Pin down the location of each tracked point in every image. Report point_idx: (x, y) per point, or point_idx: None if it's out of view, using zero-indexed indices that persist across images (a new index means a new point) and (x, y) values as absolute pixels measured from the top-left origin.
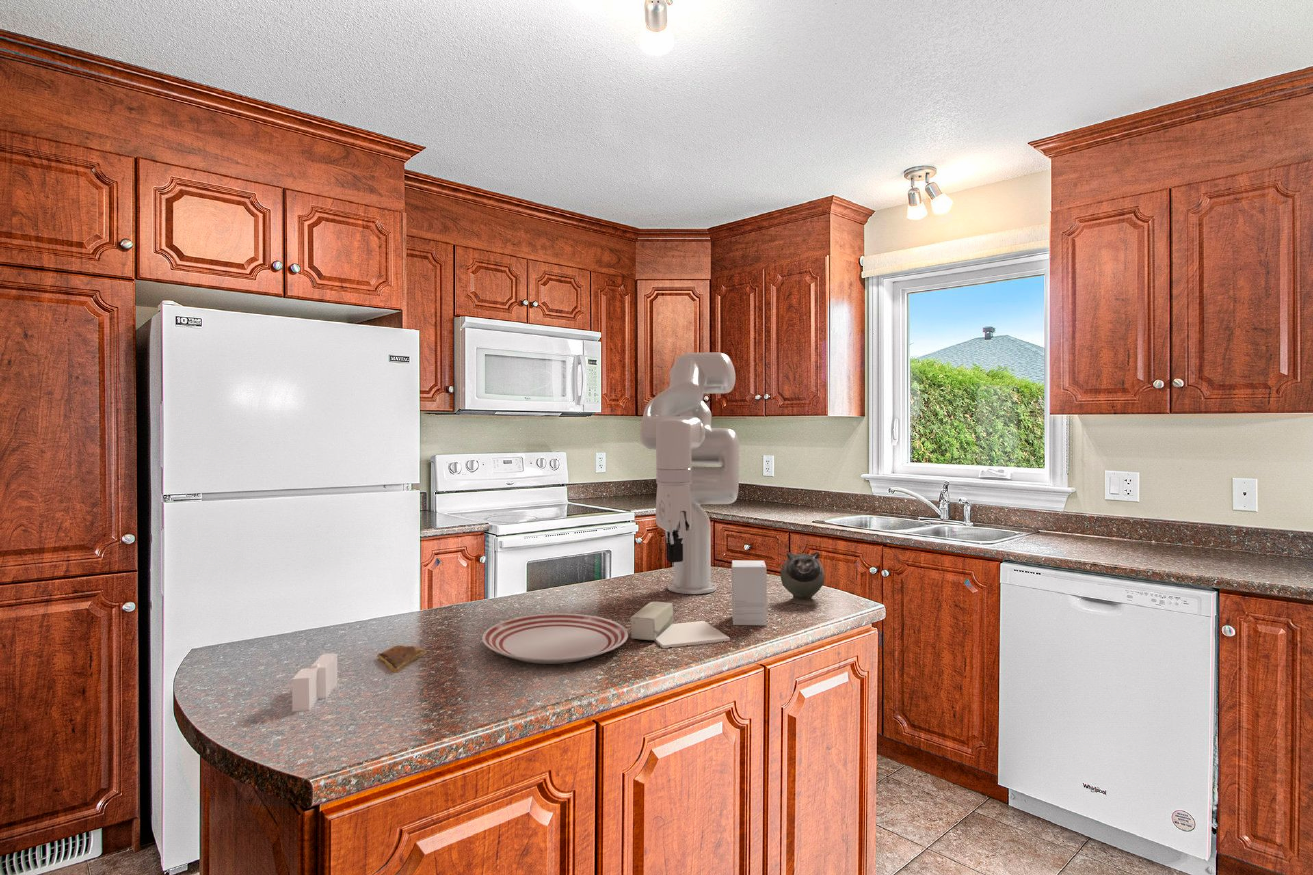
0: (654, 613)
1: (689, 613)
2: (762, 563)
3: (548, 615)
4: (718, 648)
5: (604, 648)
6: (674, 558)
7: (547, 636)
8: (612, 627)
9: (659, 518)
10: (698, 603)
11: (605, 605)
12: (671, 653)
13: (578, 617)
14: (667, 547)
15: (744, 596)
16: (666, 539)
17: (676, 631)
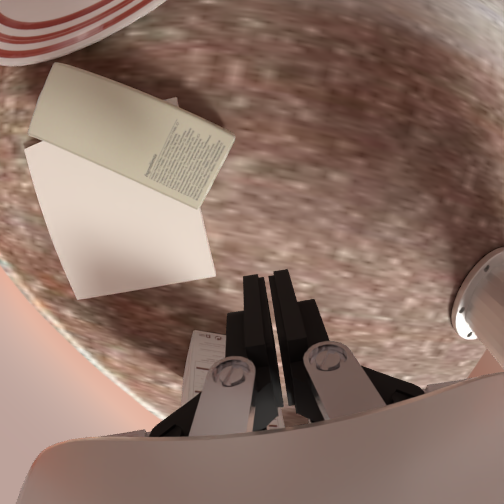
0: (70, 136)
1: (321, 256)
2: None
3: None
4: (34, 263)
5: (16, 22)
6: (229, 313)
7: None
8: (116, 15)
9: (432, 502)
10: (397, 291)
11: (445, 61)
12: (3, 165)
13: None
14: (284, 321)
15: (184, 396)
16: (343, 354)
17: (121, 191)
